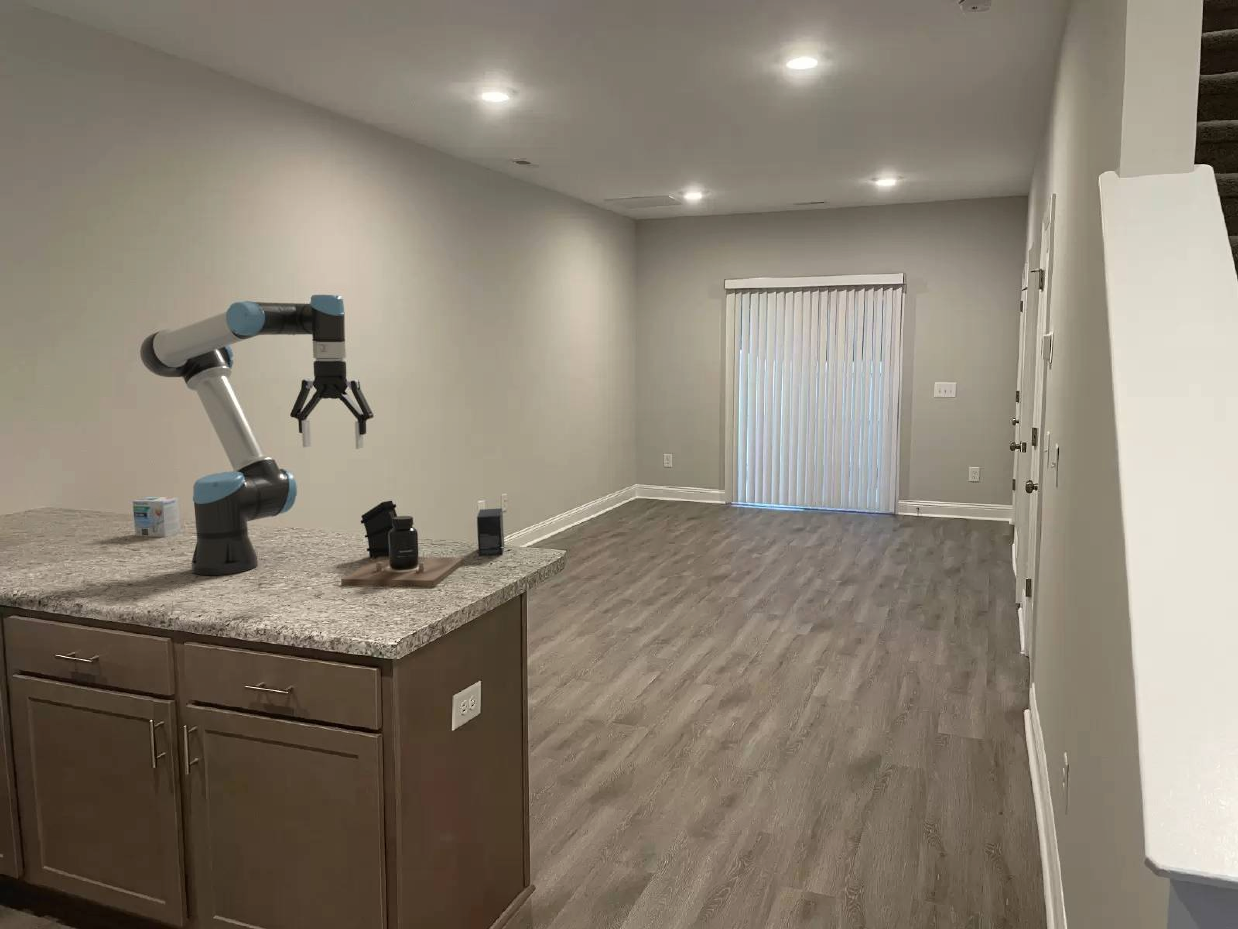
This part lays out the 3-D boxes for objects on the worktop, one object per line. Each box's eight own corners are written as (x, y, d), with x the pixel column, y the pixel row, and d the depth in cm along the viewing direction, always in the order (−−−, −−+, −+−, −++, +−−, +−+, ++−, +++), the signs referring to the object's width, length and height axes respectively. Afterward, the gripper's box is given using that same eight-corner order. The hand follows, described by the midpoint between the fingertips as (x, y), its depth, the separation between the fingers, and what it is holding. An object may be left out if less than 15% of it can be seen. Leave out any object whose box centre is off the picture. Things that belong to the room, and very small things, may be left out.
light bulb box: (134, 536, 273) (131, 500, 271) (150, 531, 279) (147, 496, 278) (166, 537, 270) (162, 500, 269) (181, 532, 277) (178, 497, 275)
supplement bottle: (404, 571, 215) (402, 521, 214) (383, 568, 219) (380, 518, 217) (425, 565, 221) (422, 516, 219) (404, 562, 225) (402, 513, 223)
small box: (480, 547, 248) (478, 508, 246) (504, 546, 248) (503, 507, 247) (477, 556, 237) (475, 516, 236) (503, 555, 238) (501, 515, 236)
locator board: (341, 585, 211) (340, 570, 211) (379, 562, 233) (378, 548, 232) (434, 587, 208) (433, 571, 207) (464, 563, 229) (463, 549, 229)
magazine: (400, 557, 230) (381, 501, 232) (373, 573, 238) (355, 519, 240) (413, 555, 233) (394, 499, 235) (385, 570, 241) (367, 516, 243)
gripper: (273, 359, 221) (277, 447, 224) (372, 361, 217) (375, 450, 220) (288, 358, 228) (292, 444, 231) (385, 359, 225) (387, 446, 228)
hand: (333, 447), depth 226 cm, fingers open, 13 cm apart
